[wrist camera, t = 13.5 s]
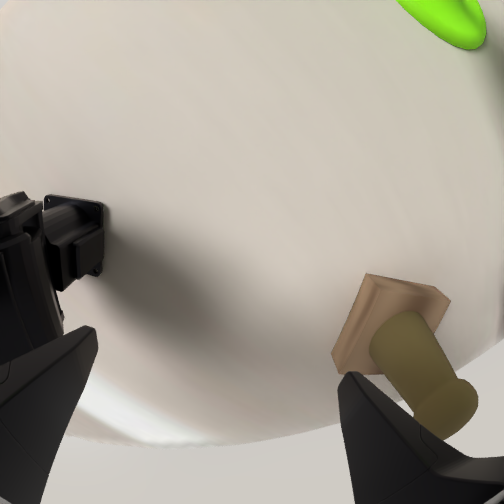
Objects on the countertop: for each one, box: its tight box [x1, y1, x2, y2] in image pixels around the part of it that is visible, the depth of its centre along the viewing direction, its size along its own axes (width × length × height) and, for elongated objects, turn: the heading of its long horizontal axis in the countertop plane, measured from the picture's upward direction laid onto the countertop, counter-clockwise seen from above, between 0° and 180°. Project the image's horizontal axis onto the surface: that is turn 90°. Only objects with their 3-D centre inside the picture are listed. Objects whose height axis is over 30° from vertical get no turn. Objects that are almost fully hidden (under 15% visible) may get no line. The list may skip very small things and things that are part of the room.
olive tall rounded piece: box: [369, 311, 478, 440], centre depth 16 cm, size 6×6×11 cm
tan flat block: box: [331, 274, 451, 375], centre depth 22 cm, size 9×9×3 cm
